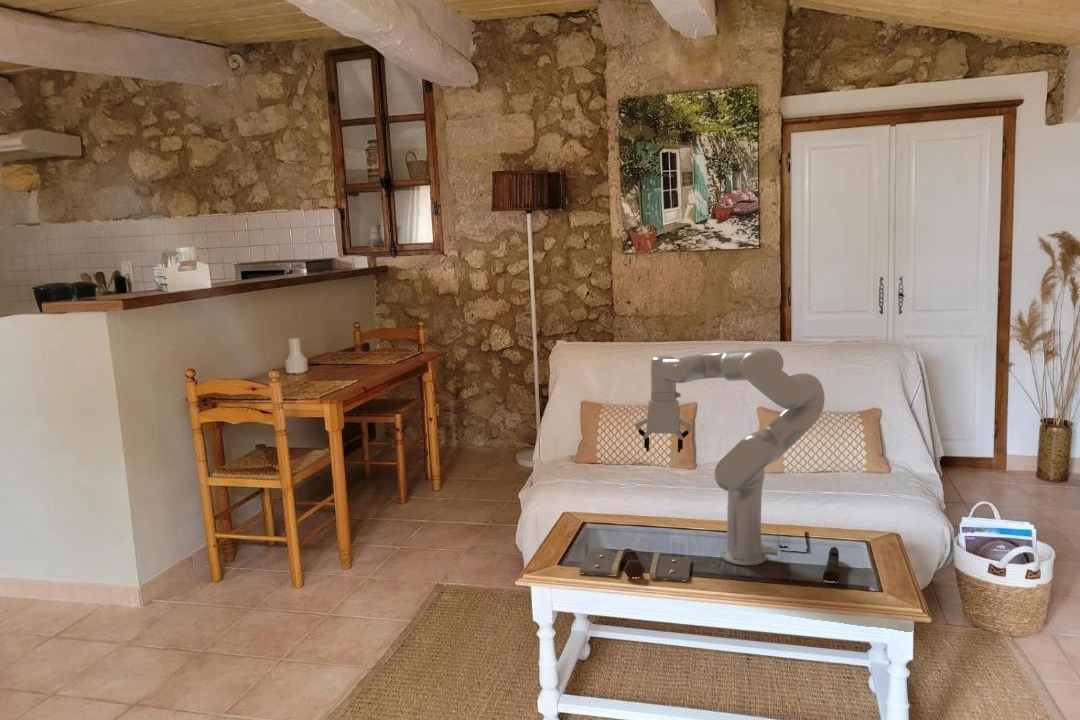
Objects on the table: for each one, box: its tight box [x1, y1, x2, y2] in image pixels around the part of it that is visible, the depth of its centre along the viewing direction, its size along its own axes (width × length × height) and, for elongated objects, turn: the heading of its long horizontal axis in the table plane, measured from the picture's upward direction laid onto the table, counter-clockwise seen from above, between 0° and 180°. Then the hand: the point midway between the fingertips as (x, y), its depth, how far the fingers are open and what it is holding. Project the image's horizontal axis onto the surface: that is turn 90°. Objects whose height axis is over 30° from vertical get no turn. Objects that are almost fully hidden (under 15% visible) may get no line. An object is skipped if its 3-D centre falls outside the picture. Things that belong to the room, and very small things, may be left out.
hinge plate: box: [579, 550, 692, 581], centre depth 226 cm, size 30×15×2 cm, turn 77°
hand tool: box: [822, 546, 840, 582], centre depth 220 cm, size 19×4×5 cm, turn 155°
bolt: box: [621, 548, 646, 578], centre depth 225 cm, size 6×5×15 cm
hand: (663, 451), depth 245 cm, fingers open, 9 cm apart
